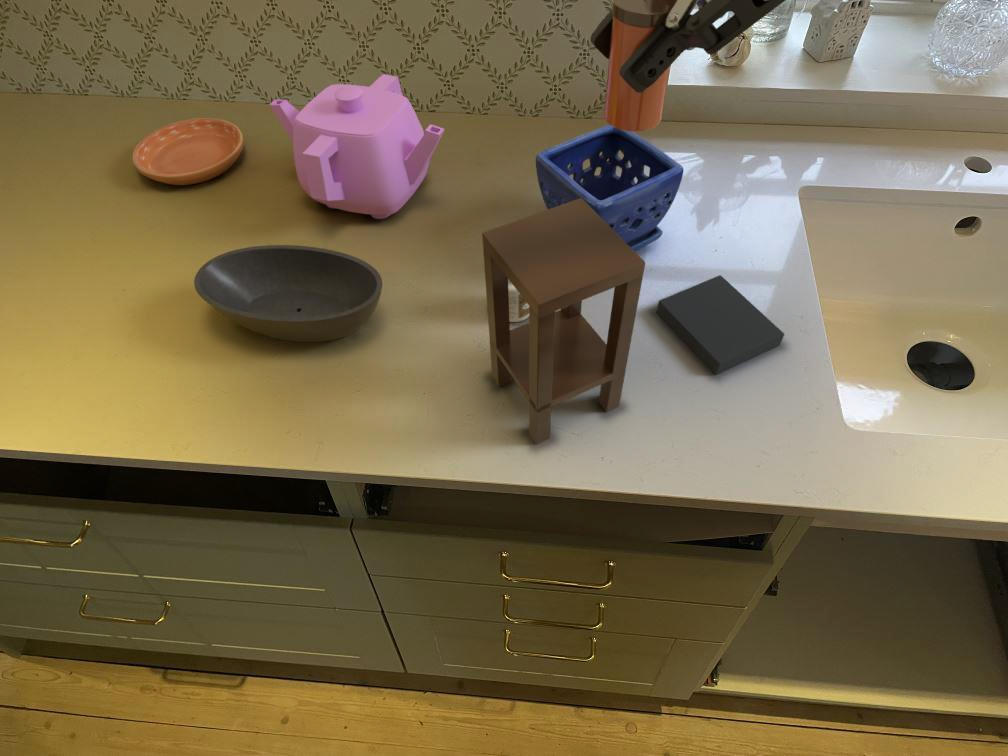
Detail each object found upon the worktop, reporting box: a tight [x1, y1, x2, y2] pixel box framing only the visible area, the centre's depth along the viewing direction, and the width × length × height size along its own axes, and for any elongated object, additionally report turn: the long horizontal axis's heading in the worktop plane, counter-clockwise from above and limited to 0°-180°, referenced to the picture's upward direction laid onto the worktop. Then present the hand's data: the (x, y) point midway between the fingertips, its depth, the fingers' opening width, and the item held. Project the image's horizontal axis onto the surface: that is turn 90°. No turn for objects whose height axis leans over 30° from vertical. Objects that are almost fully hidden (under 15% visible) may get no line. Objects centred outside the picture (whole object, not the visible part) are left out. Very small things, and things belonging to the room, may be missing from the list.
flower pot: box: [535, 124, 684, 252], centre depth 81 cm, size 13×13×12 cm
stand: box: [481, 198, 646, 445], centre depth 62 cm, size 10×10×20 cm
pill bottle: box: [508, 279, 529, 323], centre depth 75 cm, size 4×4×8 cm
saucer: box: [131, 117, 245, 186], centre depth 99 cm, size 16×16×3 cm
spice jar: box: [603, 0, 677, 133], centre depth 45 cm, size 4×4×8 cm
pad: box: [656, 274, 785, 376], centre depth 74 cm, size 11×9×2 cm
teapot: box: [268, 73, 445, 220], centre depth 88 cm, size 19×18×15 cm
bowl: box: [193, 244, 383, 343], centre depth 75 cm, size 12×22×6 cm, turn 79°
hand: (614, 65), depth 44 cm, fingers closed on spice jar, 4 cm apart
